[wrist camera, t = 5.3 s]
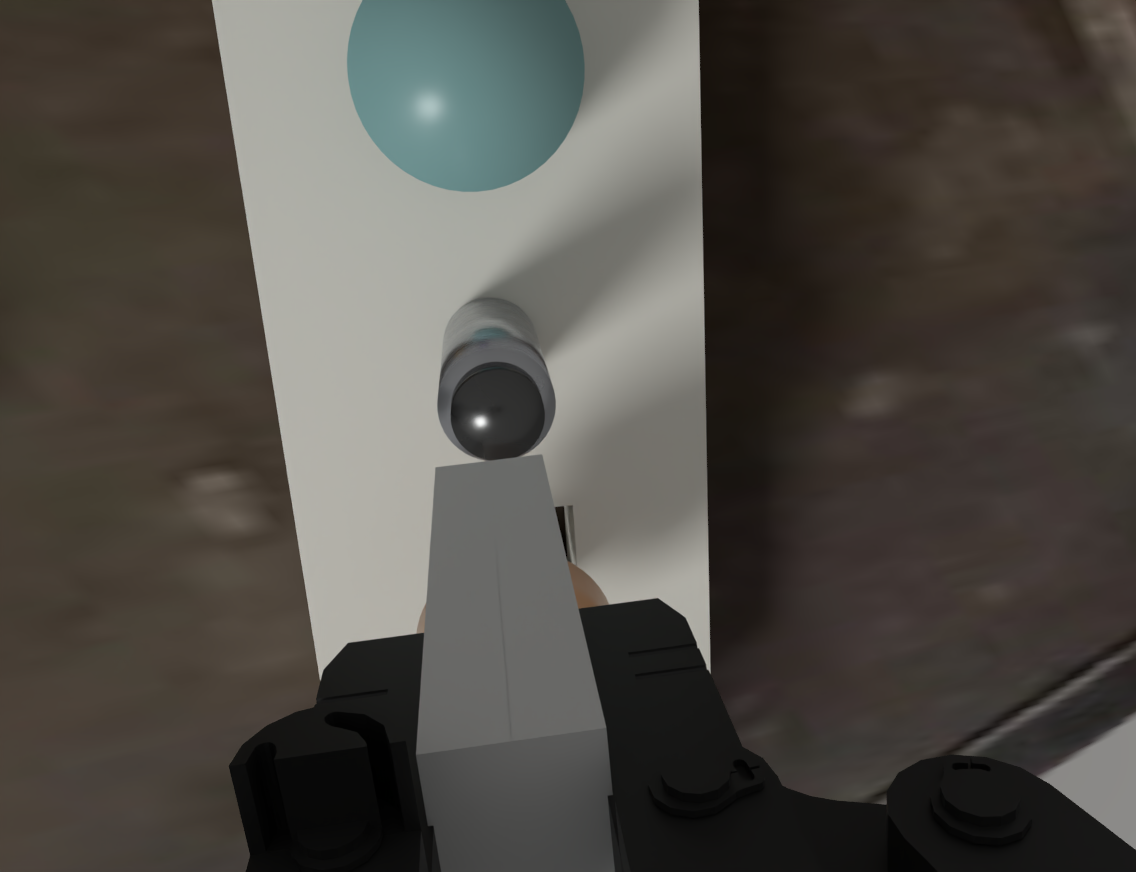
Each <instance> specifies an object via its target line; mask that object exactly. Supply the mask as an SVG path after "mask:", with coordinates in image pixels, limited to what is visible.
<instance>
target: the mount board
mask: <svg viewBox="0 0 1136 872" xmlns="http://www.w3.org/2000/svg"><path fill="white" fill-rule="evenodd" d="M565 1H566V3H567V5H568V7H569V9H570V11H571V12H572V14H573V17H574V19H575V22H576V25H577V27H578V30H579V33H580V38H581V42H582V46H583V53H584V62H585V79H584V87H583V95H582V99H581V103H580V107H579V111H578V113H577V116H576V118H575V121H574V123H573V126H572V128H571V129H570V131H569V133H568V135H567V137H566V138H565V140H564V141H563V143H562V144H561V145H560V147H559V148H558V149H557V151H556V152H555V153H554V154H553V155H552V156H551V157H550V158H549V159H548V160H547V161H546V162H545V163H544V164H543V165H542V166H540V167H539V168H538V169H537V170H535V171H534V172H533V173H531V174H529V175H528V176H526V177H524V178H523V179H521V180H519V181H517V182H514V183H512V184H510V185H507V186H504V187H500V188H497V189H493V190H487V191H479V192H461V191H453V190H447V189H443V188H439V187H435V186H432V185H430V184H427V183H425V182H423V181H420V180H418V179H416V178H415V177H413V176H411V175H409V174H408V173H406V172H404V171H403V170H402V169H400V168H399V167H398V166H396V165H395V164H394V163H393V162H392V161H390V160H389V159H388V158H387V157H386V156H385V155H384V154H383V153H382V152H381V151H380V149H379V148H378V147H377V146H376V144H375V143H374V142H373V141H372V139H371V138H370V136H369V134H368V133H367V131H366V130H365V128H364V126H363V125H362V122H361V120H360V118H359V116H358V114H357V111H356V109H355V106H354V103H353V99H352V96H351V92H350V87H349V81H348V72H347V52H348V42H349V37H350V32H351V27H352V24H353V21H354V18H355V15H356V13H357V10H358V8H359V6H360V4H361V2H362V0H212V3H213V10H214V16H215V22H216V28H217V35H218V41H219V47H220V54H221V60H222V66H223V72H224V79H225V85H226V91H227V98H228V104H229V110H230V116H231V123H232V129H233V135H234V142H235V148H236V154H237V160H238V167H239V173H240V179H241V185H242V192H243V198H244V204H245V211H246V217H247V223H248V229H249V236H250V242H251V248H252V255H253V261H254V267H255V273H256V280H257V286H258V292H259V299H260V305H261V311H262V317H263V324H264V330H265V336H266V343H267V349H268V355H269V361H270V368H271V374H272V380H273V387H274V393H275V399H276V405H277V412H278V418H279V424H280V431H281V437H282V443H283V449H284V456H285V462H286V468H287V475H288V481H289V487H290V493H291V500H292V506H293V512H294V519H295V525H296V531H297V537H298V544H299V550H300V556H301V562H302V569H303V575H304V581H305V588H306V594H307V600H308V606H309V613H310V619H311V625H312V632H313V638H314V644H315V650H316V657H317V663H318V669H319V676H320V681H321V677H322V673H323V670H324V669H325V668H326V666H327V665H328V664H329V663H330V662H331V661H332V660H333V659H334V658H335V656H336V655H337V654H338V653H339V652H340V651H341V650H342V649H343V648H344V647H345V645H346V644H347V643H350V642H358V641H365V640H373V639H380V638H388V637H395V636H403V635H410V634H417V626H418V622H419V619H420V615H421V613H422V610H423V608H424V606H425V604H426V599H427V584H428V570H429V555H430V540H431V526H432V511H433V496H434V481H435V467H442V466H450V465H459V464H467V463H475V462H483V461H484V460H480V459H477V458H474V457H471V456H469V455H467V454H466V453H464V452H462V451H461V450H460V449H458V448H457V447H456V446H455V445H454V444H453V443H452V442H451V441H450V440H449V439H448V437H447V436H446V434H445V433H444V431H443V428H442V426H441V424H440V421H439V417H438V411H437V400H438V389H439V379H440V368H441V358H442V347H443V337H444V332H445V329H446V326H447V324H448V322H449V320H450V319H451V317H452V316H453V315H454V313H455V312H456V311H457V310H458V309H460V308H461V307H462V306H464V305H465V304H467V303H469V302H471V301H473V300H477V299H480V298H500V299H504V300H507V301H509V302H511V303H513V304H515V305H517V306H518V307H519V308H521V309H522V310H523V311H524V312H525V313H526V314H527V316H528V317H529V318H530V320H531V321H532V323H533V325H534V328H535V331H536V334H537V337H538V340H539V344H540V347H541V350H542V353H543V356H544V360H545V363H546V366H547V369H548V373H549V376H550V379H551V382H552V386H553V389H554V393H555V399H556V410H555V416H554V420H553V423H552V426H551V428H550V430H549V432H548V433H547V435H546V437H545V438H544V439H543V440H542V442H541V443H540V444H539V445H538V446H537V447H535V448H534V449H533V450H531V451H530V452H528V453H527V454H525V455H523V456H521V457H524V456H532V455H540V454H542V456H543V460H544V464H545V469H546V473H547V477H548V481H549V486H550V490H551V494H552V498H553V503H554V507H559V506H564V514H565V529H566V544H567V559H568V561H569V562H571V563H573V564H574V565H576V566H577V567H579V568H580V569H582V570H583V571H584V572H585V573H586V574H588V575H589V576H590V577H591V578H592V579H593V580H594V581H595V582H596V584H597V585H598V586H599V587H600V588H601V590H602V592H603V593H604V595H605V596H606V598H607V600H608V602H609V604H617V603H624V602H632V601H639V600H647V599H654V598H659V599H660V600H662V601H663V602H664V603H666V604H667V605H669V606H670V607H671V608H673V609H674V610H676V611H677V612H679V613H680V614H681V615H683V616H684V617H686V620H687V622H688V624H689V626H690V629H691V631H692V633H693V635H694V638H695V640H696V642H697V648H699V649H700V651H701V654H702V656H703V658H704V660H705V663H706V667H707V670H709V672H710V674H711V671H710V614H709V557H708V501H707V444H706V387H705V331H704V274H703V217H702V161H701V104H700V47H699V0H565Z"/></svg>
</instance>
